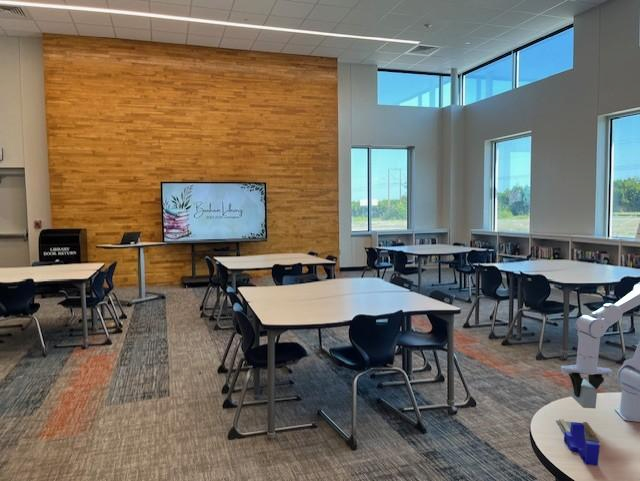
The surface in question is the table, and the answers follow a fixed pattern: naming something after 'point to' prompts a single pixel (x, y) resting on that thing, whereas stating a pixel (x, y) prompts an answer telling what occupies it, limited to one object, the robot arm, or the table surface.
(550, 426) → the table surface
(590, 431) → the guide rails
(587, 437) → the guide mat
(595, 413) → the table surface
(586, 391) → the bar
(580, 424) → the cable clip
